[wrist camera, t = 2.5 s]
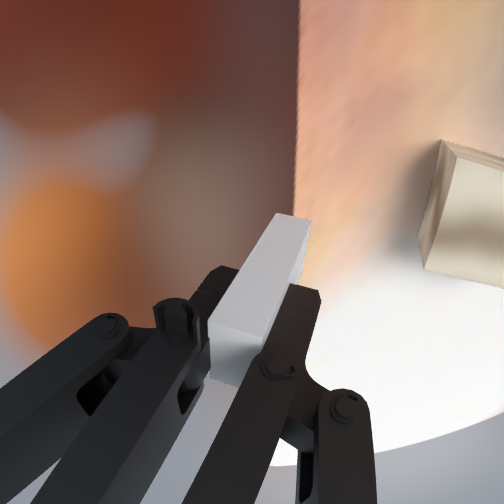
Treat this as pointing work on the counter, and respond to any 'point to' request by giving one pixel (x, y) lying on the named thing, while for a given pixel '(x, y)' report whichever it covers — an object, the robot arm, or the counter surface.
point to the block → (465, 216)
